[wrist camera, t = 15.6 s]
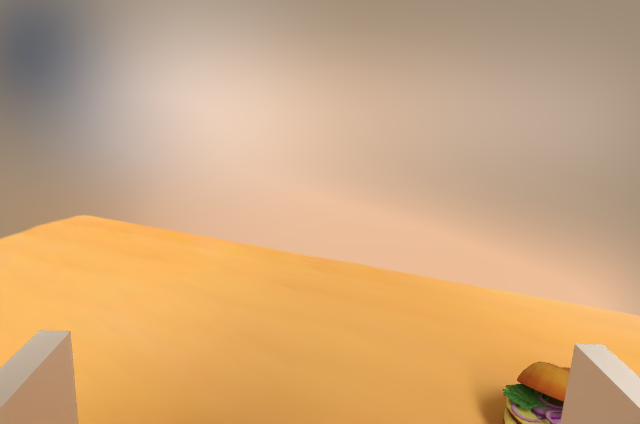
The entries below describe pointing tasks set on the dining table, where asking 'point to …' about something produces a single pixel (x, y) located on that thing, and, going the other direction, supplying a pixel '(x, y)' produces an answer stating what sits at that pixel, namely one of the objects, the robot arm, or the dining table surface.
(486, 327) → the dining table surface
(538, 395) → the cheeseburger
